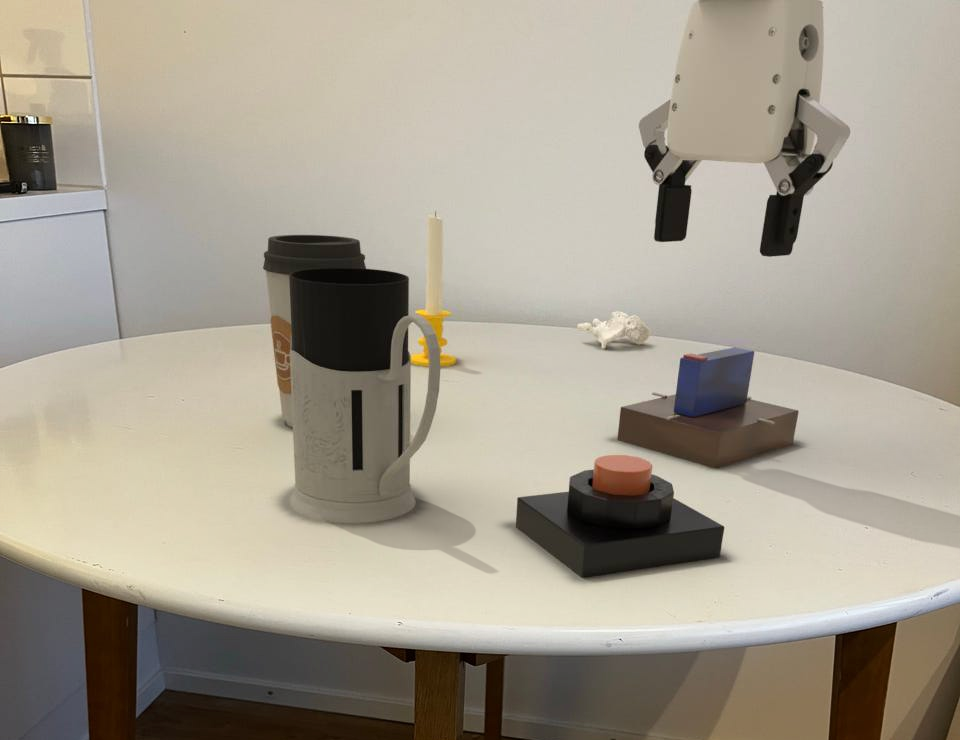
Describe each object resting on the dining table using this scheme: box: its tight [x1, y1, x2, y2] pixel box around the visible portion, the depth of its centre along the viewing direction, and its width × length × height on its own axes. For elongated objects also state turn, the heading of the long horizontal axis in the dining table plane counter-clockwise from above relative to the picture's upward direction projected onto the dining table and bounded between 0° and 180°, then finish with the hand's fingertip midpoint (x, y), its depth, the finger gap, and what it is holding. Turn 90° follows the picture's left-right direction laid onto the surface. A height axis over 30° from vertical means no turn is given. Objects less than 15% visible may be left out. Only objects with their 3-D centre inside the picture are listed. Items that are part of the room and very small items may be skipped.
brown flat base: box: [617, 391, 799, 469], centre depth 87 cm, size 12×12×3 cm
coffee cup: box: [262, 234, 367, 429], centre depth 85 cm, size 8×8×15 cm
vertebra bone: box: [576, 310, 652, 350], centre depth 125 cm, size 8×4×7 cm
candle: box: [410, 210, 457, 368], centre depth 109 cm, size 5×5×16 cm
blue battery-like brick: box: [674, 346, 755, 417], centre depth 85 cm, size 8×2×5 cm, turn 134°
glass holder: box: [289, 268, 442, 524], centre depth 65 cm, size 9×14×15 cm, turn 37°
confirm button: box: [592, 454, 653, 496], centre depth 64 cm, size 4×4×2 cm
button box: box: [515, 469, 725, 579], centre depth 65 cm, size 10×9×4 cm
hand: (720, 247), depth 76 cm, fingers open, 9 cm apart
